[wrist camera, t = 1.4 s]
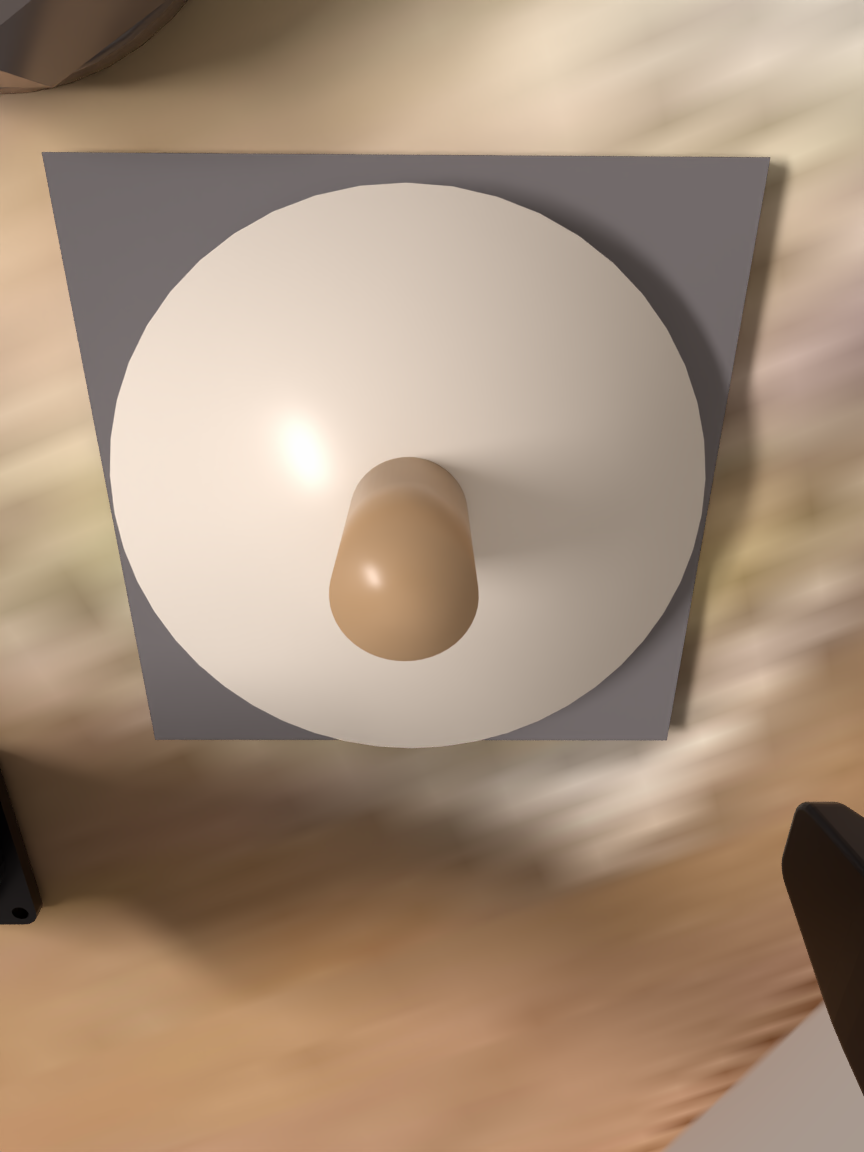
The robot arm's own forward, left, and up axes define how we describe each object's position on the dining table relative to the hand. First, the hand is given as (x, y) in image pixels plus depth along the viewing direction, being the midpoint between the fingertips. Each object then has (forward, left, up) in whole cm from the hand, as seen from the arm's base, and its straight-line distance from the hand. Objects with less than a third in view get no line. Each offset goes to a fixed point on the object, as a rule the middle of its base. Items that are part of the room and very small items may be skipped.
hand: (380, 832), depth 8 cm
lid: (0, 0, -11) cm, 11 cm away
